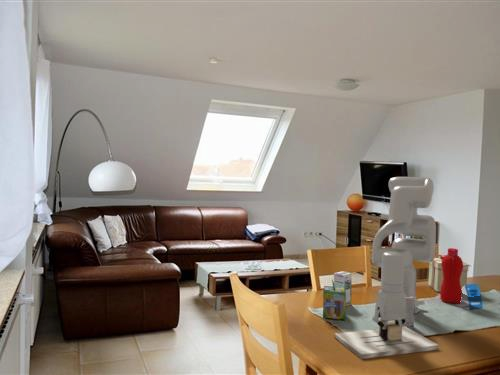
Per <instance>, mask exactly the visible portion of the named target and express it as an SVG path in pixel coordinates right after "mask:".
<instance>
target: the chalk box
mask: <svg viewBox="0 0 500 375" xmlns="http://www.w3.org/2000/svg"><path fill="white" fill-rule="evenodd" d="M331 282H332V285H324V287H323V294H322V296H323V298H322V299H323V304H322V305H323V306H322V307H323V308H322V309H323V310H322V318H323V319H324V318H333V319H332V320H340V319H344V321H346V320H345V319H347V318H346V315H347V313H346V310H347V308H346V307H347V306H346V290H345V287H337V286H334V279H332V280H331Z"/></svg>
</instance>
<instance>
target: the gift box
mask: <svg viewBox="0 0 500 375" xmlns="http://www.w3.org/2000/svg"><path fill="white" fill-rule="evenodd" d="M446 255H447V254H439V255H438V257H435V258H434V260H433V261H432V262H428V264H429V268H428V282H427V283H428V286H429V287H430V288H432V289H433V290H434V291H436V292H437V293H440V290H441V286H442V282H443V271H442V265H441V263H442V259H443V257H444V256H446ZM469 267H471V264H468V263H467V262H463V270H462V274H461V277H460V285H461V289H462V287H463V286H464V285H466V284H467V283H468V272H469Z"/></svg>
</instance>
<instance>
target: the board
mask: <svg viewBox="0 0 500 375" xmlns="http://www.w3.org/2000/svg"><path fill="white" fill-rule="evenodd" d="M334 339H336V340H337V341H338V342H340V343H341V344H342V345H343V346H344V347H346V348H347V349H348V350H349V351H350V352H352V353H353V354H355V355H356V356H357V357H358V358H359V359H361V360H365V359H371V358H372V359H373V358H379V357H389V356H396V355H397V356H398V355H404V354H412V353H420V352H429V351H435V350H439V348H440V345H439V344H438V343H436V342H434V341H432V340H430V339H429V338H427V337H425V336H423V335H421V334H420V333H418V332H416V331H414V330H413V329H409V328H407V327H405V326H404V327H402V342H395V343H390V342H388V341H385V340H383V339H382V338H381V337H380V336H379V328H377V329H367V330H357V331H347V332H346V331H345V332H336V333H334Z"/></svg>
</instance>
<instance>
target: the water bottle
mask: <svg viewBox="0 0 500 375" xmlns="http://www.w3.org/2000/svg"><path fill="white" fill-rule="evenodd" d="M458 253H459V249H458V248H454V247H451V248H447V254H445V255H446V256H444V257H443V259H442V263H441V265H442V271H443V282H442V286H441V290H440V292H439V294H440V295H439V298H440V300H441V301H442V302H444V303H451V304H461V303H460V301H461V297H462V298H463V294H462V290H461V285H460V277H461V274H462V270H463V260H462V257H461V256H459V254H458ZM461 302H462V301H461Z"/></svg>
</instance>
